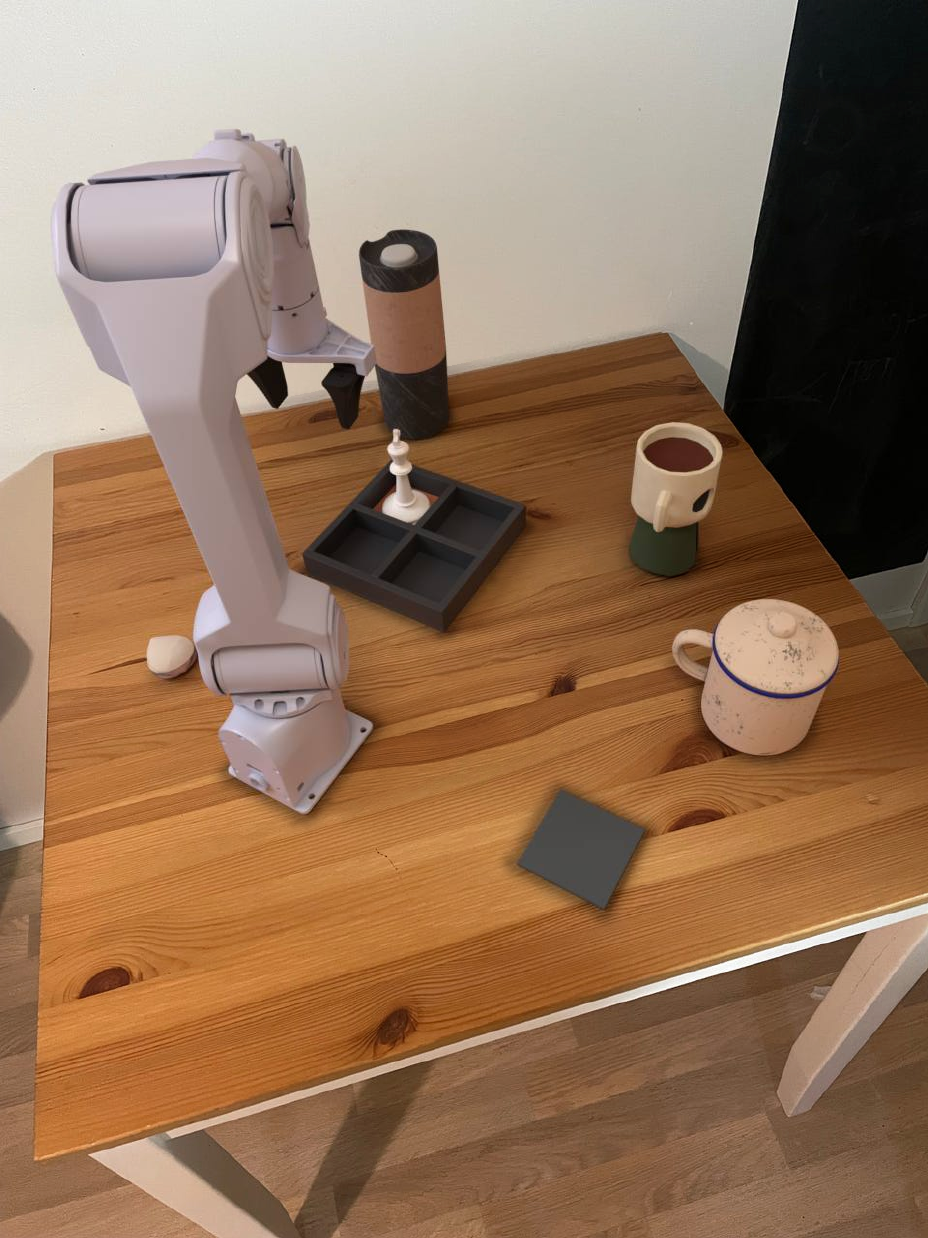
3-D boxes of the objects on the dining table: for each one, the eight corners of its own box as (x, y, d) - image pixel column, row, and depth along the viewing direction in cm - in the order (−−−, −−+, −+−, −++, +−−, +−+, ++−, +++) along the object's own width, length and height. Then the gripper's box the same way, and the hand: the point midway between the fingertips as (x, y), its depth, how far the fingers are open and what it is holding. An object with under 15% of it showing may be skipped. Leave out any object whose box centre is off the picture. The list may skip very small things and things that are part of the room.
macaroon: (168, 691, 80) (159, 673, 78) (135, 661, 82) (126, 644, 80) (208, 661, 82) (200, 643, 80) (175, 633, 84) (166, 615, 82)
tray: (444, 632, 82) (442, 612, 80) (307, 573, 88) (301, 553, 86) (526, 526, 91) (526, 504, 88) (395, 478, 96) (392, 457, 94)
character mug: (686, 606, 83) (708, 499, 73) (609, 587, 85) (620, 480, 75) (712, 526, 89) (735, 417, 79) (640, 510, 91) (653, 401, 81)
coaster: (604, 910, 65) (604, 908, 65) (517, 865, 68) (517, 863, 67) (644, 831, 69) (645, 829, 69) (560, 791, 71) (560, 789, 71)
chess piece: (434, 494, 94) (425, 414, 86) (428, 528, 90) (418, 448, 83) (386, 493, 94) (373, 413, 86) (378, 527, 91) (364, 447, 83)
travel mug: (445, 443, 99) (429, 270, 84) (376, 439, 101) (348, 267, 85) (456, 400, 104) (444, 229, 89) (390, 397, 105) (367, 227, 90)
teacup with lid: (824, 690, 76) (862, 596, 67) (797, 777, 71) (834, 688, 62) (683, 643, 80) (701, 549, 71) (647, 723, 75) (663, 632, 66)
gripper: (384, 278, 76) (401, 402, 87) (235, 243, 80) (270, 366, 91) (344, 331, 73) (367, 453, 84) (190, 291, 76) (232, 413, 88)
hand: (314, 411), depth 87 cm, fingers open, 7 cm apart
